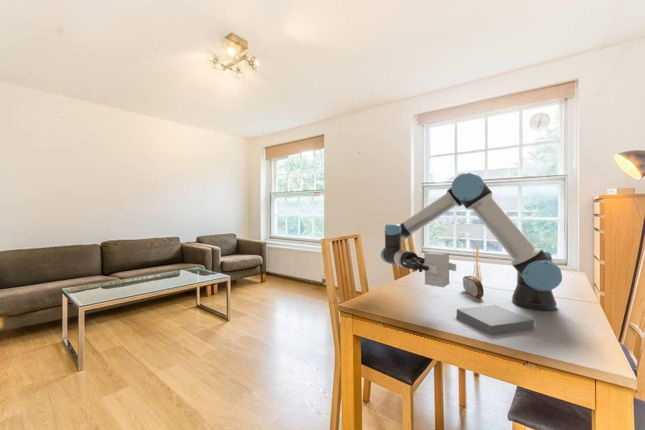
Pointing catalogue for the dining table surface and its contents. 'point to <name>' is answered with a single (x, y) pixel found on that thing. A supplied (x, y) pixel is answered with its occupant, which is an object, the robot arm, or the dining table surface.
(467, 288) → the tin
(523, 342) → the dining table surface
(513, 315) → the gray board
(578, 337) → the dining table surface
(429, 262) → the supplement box
